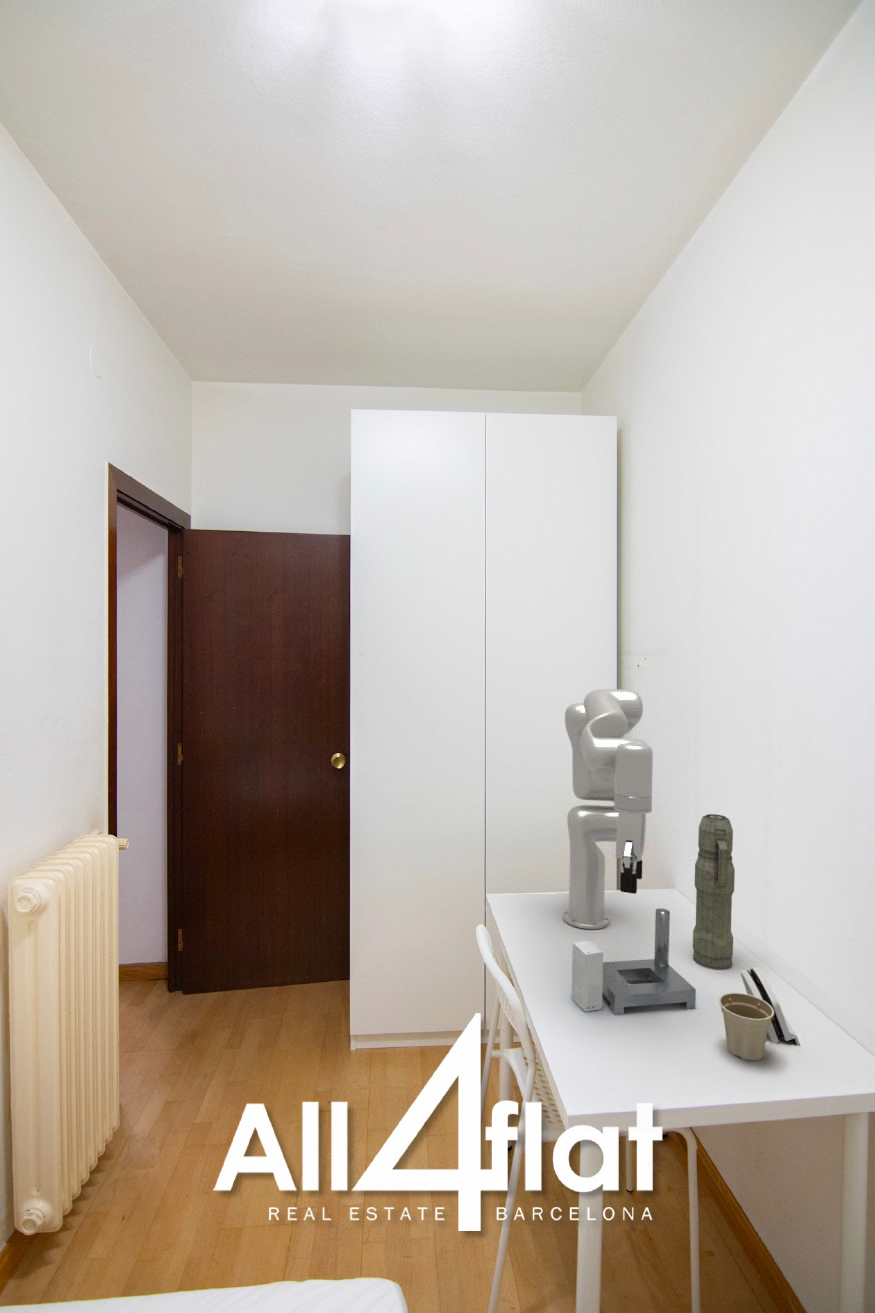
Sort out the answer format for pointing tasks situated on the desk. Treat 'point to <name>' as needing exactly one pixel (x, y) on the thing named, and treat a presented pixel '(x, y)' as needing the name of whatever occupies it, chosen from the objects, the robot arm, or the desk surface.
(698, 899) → the thermos
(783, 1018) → the white curved piece
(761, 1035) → the flower pot
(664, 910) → the gray square stand
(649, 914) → the desk surface
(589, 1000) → the skincare box
